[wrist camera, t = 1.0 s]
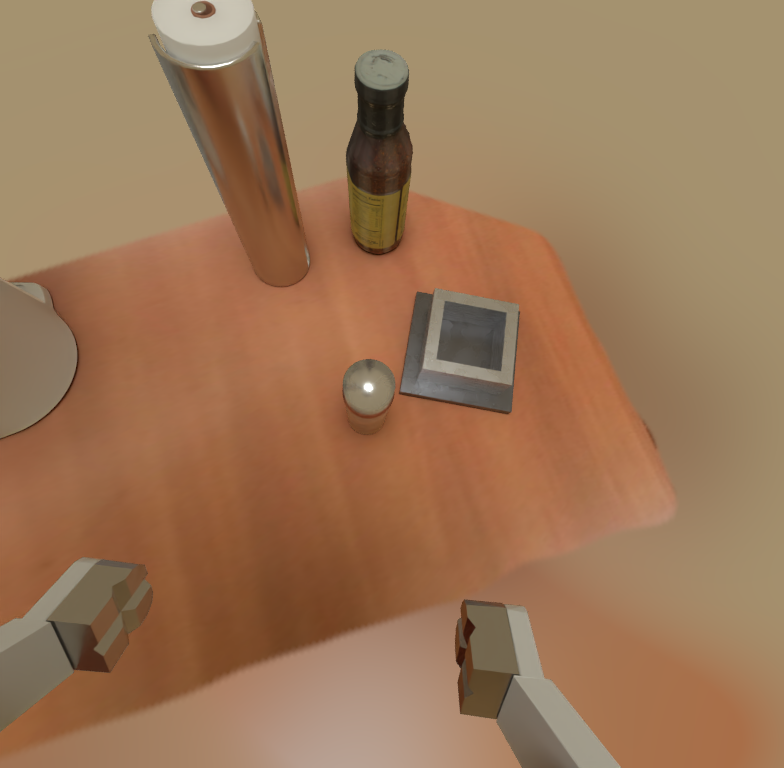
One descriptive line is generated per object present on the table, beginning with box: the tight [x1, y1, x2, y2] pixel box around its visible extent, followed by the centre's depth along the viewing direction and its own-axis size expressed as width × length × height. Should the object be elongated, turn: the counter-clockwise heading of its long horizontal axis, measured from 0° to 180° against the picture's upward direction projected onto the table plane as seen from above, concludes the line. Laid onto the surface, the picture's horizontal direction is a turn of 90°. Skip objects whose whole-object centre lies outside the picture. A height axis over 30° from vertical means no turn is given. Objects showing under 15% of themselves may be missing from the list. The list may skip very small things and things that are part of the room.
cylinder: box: [343, 359, 395, 435], centre depth 36 cm, size 4×4×12 cm
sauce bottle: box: [346, 50, 413, 254], centre depth 39 cm, size 7×6×20 cm
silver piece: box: [149, 0, 310, 287], centre depth 34 cm, size 6×6×25 cm
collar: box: [399, 288, 520, 414], centre depth 42 cm, size 12×12×5 cm
